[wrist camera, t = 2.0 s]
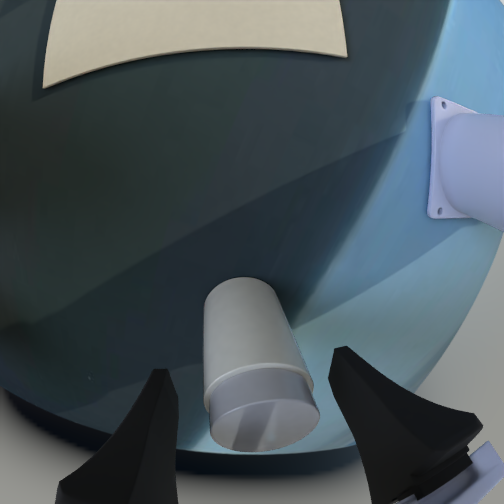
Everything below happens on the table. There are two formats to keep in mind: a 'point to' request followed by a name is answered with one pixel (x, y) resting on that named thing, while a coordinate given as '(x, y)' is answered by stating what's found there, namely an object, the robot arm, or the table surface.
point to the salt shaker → (253, 370)
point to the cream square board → (183, 30)
